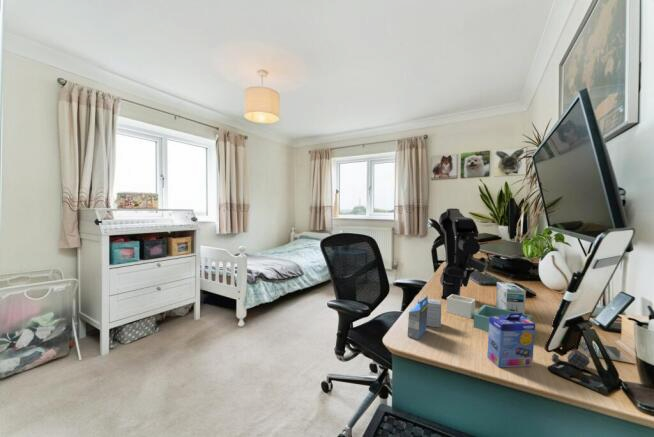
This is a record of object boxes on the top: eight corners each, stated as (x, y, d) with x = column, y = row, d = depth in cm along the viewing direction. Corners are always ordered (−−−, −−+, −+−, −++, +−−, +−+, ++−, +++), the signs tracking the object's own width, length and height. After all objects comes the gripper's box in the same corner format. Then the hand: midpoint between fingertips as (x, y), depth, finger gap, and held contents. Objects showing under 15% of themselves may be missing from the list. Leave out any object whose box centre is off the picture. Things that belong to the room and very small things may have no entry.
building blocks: (589, 362, 71) (554, 340, 75) (575, 376, 73) (542, 354, 77) (588, 357, 73) (554, 335, 78) (575, 371, 75) (542, 349, 80)
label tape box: (415, 326, 97) (416, 292, 96) (427, 330, 95) (428, 295, 94) (407, 336, 90) (408, 299, 89) (419, 340, 87) (420, 302, 87)
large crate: (473, 328, 97) (473, 314, 97) (483, 317, 106) (483, 304, 106) (525, 343, 87) (526, 327, 86) (531, 329, 96) (531, 315, 96)
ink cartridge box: (499, 368, 72) (502, 315, 72) (485, 357, 78) (487, 307, 77) (534, 367, 73) (537, 314, 72) (518, 355, 79) (520, 306, 78)
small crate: (446, 312, 110) (446, 297, 110) (451, 308, 115) (451, 294, 115) (470, 318, 104) (471, 303, 104) (475, 314, 109) (475, 299, 108)
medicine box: (440, 323, 100) (440, 299, 99) (440, 328, 96) (441, 304, 95) (417, 320, 103) (417, 297, 102) (417, 325, 98) (417, 301, 98)
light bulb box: (525, 318, 105) (526, 290, 105) (506, 316, 106) (507, 289, 106) (512, 307, 116) (513, 282, 115) (494, 306, 117) (495, 281, 116)
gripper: (479, 256, 96) (477, 300, 97) (491, 249, 110) (490, 288, 111) (446, 252, 103) (445, 293, 104) (462, 246, 117) (460, 282, 118)
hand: (461, 289), depth 109 cm, fingers open, 9 cm apart
